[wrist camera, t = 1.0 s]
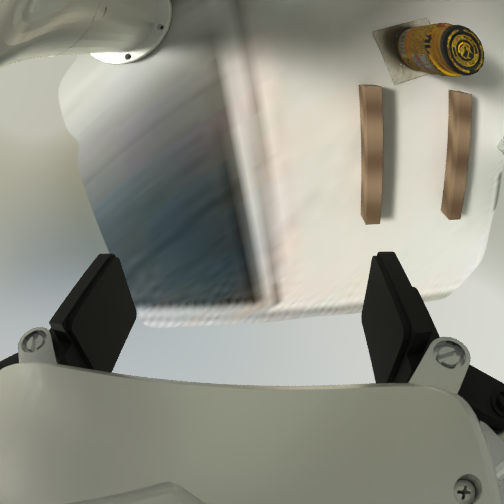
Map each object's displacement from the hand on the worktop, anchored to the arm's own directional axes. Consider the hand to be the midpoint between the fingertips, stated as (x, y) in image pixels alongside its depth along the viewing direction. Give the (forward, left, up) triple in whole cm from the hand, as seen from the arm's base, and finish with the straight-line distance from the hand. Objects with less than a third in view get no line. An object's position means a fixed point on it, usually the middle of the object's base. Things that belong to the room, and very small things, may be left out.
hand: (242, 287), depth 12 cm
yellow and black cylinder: (-10, +20, -32) cm, 39 cm away
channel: (+4, +20, -32) cm, 37 cm away
